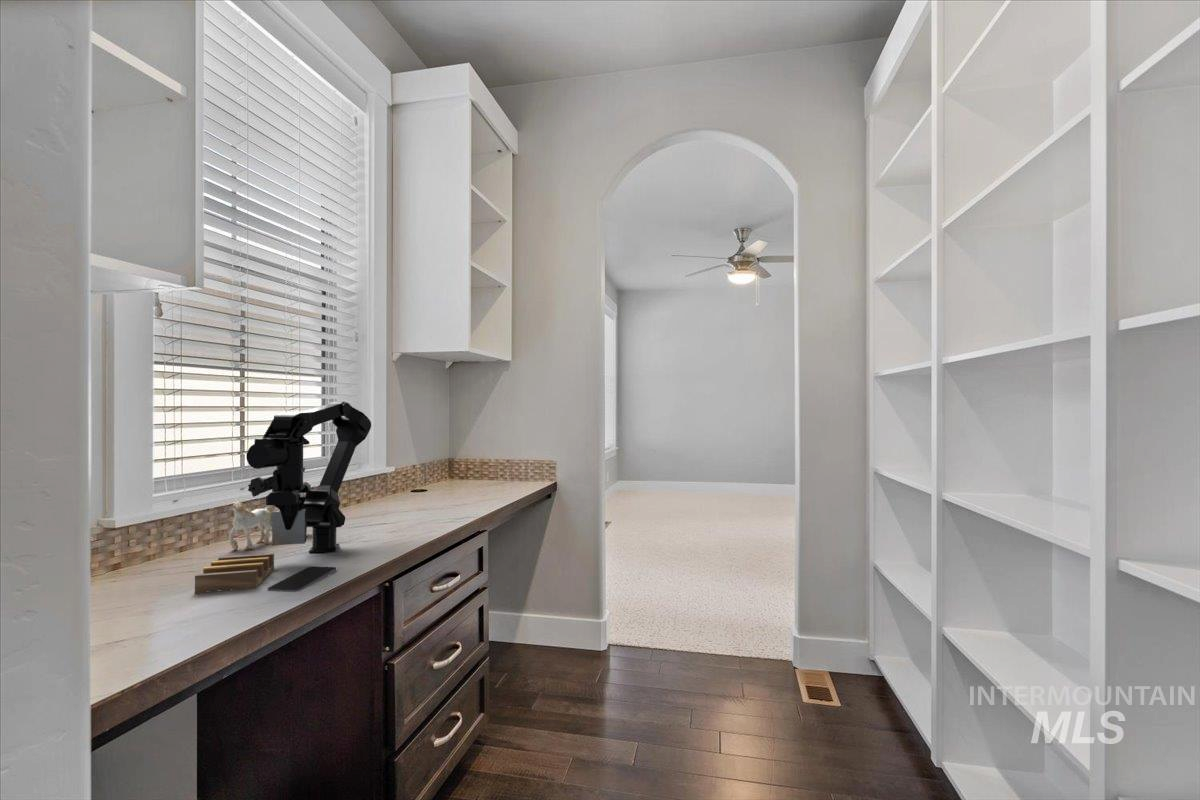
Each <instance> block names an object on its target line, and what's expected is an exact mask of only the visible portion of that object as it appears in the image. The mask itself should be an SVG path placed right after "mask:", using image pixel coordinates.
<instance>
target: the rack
mask: <svg viewBox="0 0 1200 800" xmlns="http://www.w3.org/2000/svg"><path fill="white" fill-rule="evenodd" d="M274 569H275V552H272V553H257V554H244V555H231V556H230V555H229V556H228V555H227V556H219V557H218V558H217V560H212V561H211V562H210V566H204V567H203V569H202V571H203V573H197V574H196V575H194V594H199V593H198V592H202V593H208V592H207V591H215V592H219V591H218V590H227V591H234V590H233V589H239V590H249V588H251V589H256V588H258V587H259V585H260V584H261V583H262V582H263V581H264V580H265V579H266V578H267V576H268V575H269V574H271V572H272V571H273V570H274ZM231 589H232V590H231Z"/></svg>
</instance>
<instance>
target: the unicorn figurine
mask: <svg viewBox="0 0 1200 800" xmlns="http://www.w3.org/2000/svg"><path fill="white" fill-rule="evenodd" d="M246 505H247V504H246V503H245V504H244V502H243V501H242V502H240V501H235V502H233V504H232V511H234V518H233V520H232V526H233V527H232V529H231V531H230V533H229V535H228V539H229V542H230V544H229V545H230V546H231V549H232V550H234V551H236V550H238V549H239V545H238V541H237V540H236V539H234V536H235V534H236V533H237V532H238V531H239V530H243V531H244V533H245V539H246V540H247V541H246V543H247V544H246V546H245V548H244V551H249V550H251V548H252V547H253V541H252V540H251V535H250V532H249V529H252V528H255V527H258V528H259V530H260V537H259V538H258V539H257V541H256V544H262V543H263V542H264V545H265V546H267V545H268V544H269V542H270V540H269V539H270V537H271V536H270V533H271V532H272V512H273V511H275V509H274V508H273V507H272V506H265V507H264V508H256V509H254V510H252V511H250V510H249V509H248V508H247V507H246ZM265 528H266V531H265Z"/></svg>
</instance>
